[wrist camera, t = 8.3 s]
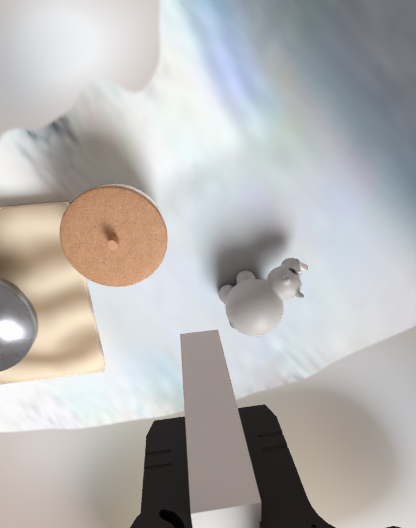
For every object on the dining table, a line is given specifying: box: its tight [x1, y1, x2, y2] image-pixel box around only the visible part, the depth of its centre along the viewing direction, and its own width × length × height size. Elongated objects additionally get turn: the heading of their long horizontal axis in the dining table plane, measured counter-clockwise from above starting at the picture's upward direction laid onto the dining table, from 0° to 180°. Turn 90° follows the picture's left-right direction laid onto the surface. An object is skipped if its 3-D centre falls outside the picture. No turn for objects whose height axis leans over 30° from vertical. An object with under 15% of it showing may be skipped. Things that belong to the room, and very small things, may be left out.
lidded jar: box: [60, 184, 167, 287], centre depth 36 cm, size 11×11×9 cm
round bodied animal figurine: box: [219, 258, 308, 336], centre depth 41 cm, size 7×12×8 cm, turn 129°
